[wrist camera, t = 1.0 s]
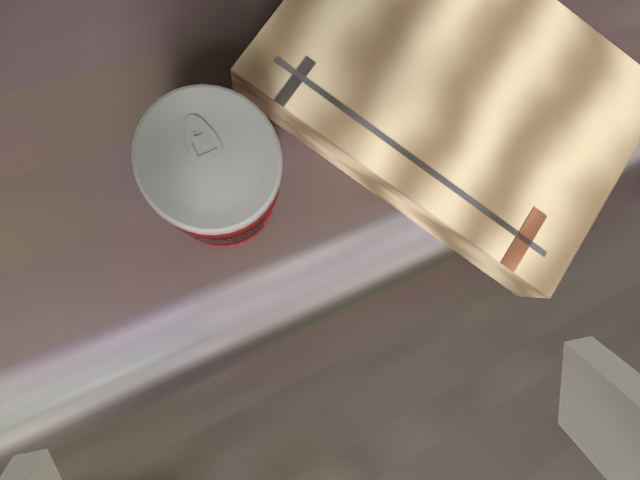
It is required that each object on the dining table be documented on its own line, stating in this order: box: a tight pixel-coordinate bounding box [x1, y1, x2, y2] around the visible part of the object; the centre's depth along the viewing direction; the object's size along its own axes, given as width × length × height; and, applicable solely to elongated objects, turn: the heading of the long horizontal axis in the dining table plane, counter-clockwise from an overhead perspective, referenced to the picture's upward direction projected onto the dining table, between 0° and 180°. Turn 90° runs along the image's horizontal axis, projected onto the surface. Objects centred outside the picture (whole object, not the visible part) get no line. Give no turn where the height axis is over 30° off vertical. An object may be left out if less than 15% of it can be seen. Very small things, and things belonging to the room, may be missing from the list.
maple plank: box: [231, 0, 640, 298], centre depth 35 cm, size 28×20×4 cm
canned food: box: [131, 84, 283, 247], centre depth 28 cm, size 8×8×11 cm
